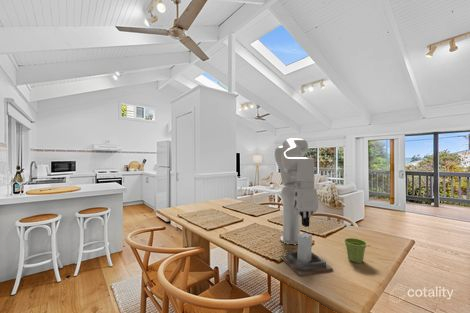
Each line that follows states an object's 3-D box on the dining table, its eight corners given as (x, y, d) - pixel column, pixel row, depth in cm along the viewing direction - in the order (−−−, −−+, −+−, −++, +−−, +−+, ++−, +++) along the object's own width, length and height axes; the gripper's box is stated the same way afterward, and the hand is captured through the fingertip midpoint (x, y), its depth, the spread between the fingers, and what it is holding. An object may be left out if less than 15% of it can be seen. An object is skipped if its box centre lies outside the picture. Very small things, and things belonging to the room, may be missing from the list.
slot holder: (280, 258, 101) (280, 251, 101) (309, 254, 106) (309, 248, 106) (299, 276, 86) (299, 269, 86) (332, 270, 90) (332, 263, 90)
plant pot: (340, 255, 105) (340, 237, 105) (359, 255, 104) (359, 237, 104) (350, 264, 95) (350, 245, 95) (371, 265, 95) (371, 245, 95)
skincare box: (302, 257, 100) (302, 231, 100) (312, 260, 97) (312, 234, 97) (296, 262, 95) (296, 235, 95) (306, 266, 92) (306, 238, 92)
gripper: (295, 186, 90) (295, 230, 90) (325, 185, 94) (325, 227, 94) (286, 184, 97) (286, 224, 97) (314, 183, 101) (314, 222, 101)
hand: (305, 225), depth 95 cm, fingers closed
